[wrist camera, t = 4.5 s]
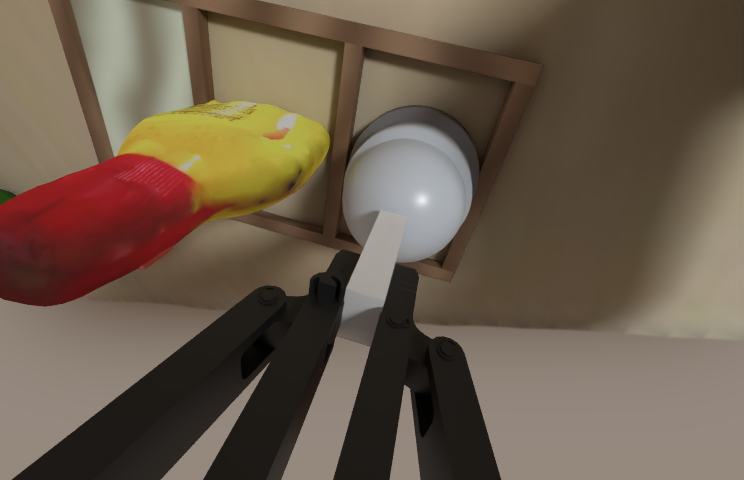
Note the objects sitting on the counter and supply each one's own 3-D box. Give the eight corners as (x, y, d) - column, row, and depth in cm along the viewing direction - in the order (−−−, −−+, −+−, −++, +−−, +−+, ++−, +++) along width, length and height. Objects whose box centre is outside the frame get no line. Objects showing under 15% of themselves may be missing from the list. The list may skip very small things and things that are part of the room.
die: (158, 218, 35) (121, 240, 31) (172, 248, 37) (140, 272, 34) (128, 216, 36) (90, 237, 32) (144, 246, 38) (110, 269, 34)
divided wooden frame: (540, 64, 20) (545, 65, 19) (450, 275, 30) (450, 285, 29) (47, -48, 24) (24, -52, 22) (113, 178, 34) (100, 183, 32)
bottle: (343, 101, 24) (101, 235, 8) (343, 180, 28) (174, 388, 11) (203, 87, 26) (-229, 171, 10) (219, 162, 30) (-80, 318, 13)
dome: (490, 136, 22) (503, 180, 15) (448, 241, 27) (445, 309, 20) (365, 105, 22) (326, 134, 16) (347, 213, 27) (312, 269, 21)
